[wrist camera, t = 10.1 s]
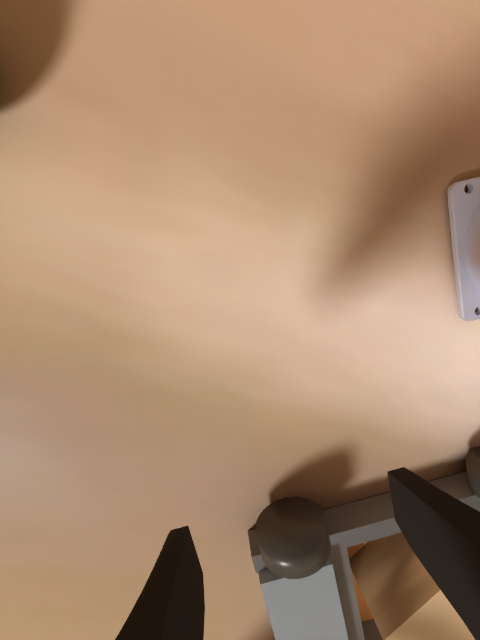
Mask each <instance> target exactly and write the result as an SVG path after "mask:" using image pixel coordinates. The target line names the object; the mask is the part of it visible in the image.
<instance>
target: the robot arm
mask: <svg viewBox="0 0 480 640" xmlns="http://www.w3.org/2000/svg"><path fill="white" fill-rule="evenodd" d="M465 186H467V187H468V192H467V193H465V191H464V188H465ZM447 196H448V207H449V217H450V228H451V238H452V249H453V259H454V270H455V280H456V291H457V301H458V312H459V317H460V318H461V319H463V320H465V321H473V320H477V319H480V177H476V178H472V179H467V180H463V181H459V182H455V183H453V184H451V185H450V186H449V188H448V191H447ZM477 307H478V311H477V313H476V314H475V309H476V308H477ZM388 478H389V485H390V491H391V497H392V504H393V510H394V517H395V521H396V523H397V524H398V526H399V528H400V530H401V532H402V533H403V535H404V537H405V539H406V540H407V542H408V544H409V546H410V547H411V549H412V551H413V552H414V553H415V555H416V556H417V558H418V559H419V560H420V562H421V563H422V565H423V566H424V568H425V569H426V570H427V572H428V573H429V575H430V576H431V577H432V579H433V580H434V581H435V583H436V584H437V586H438V587H439V588H440V590H441V591H442V593H443V594H444V595H445V597H446V598H447V600H448V601H449V602H450V604H451V605H452V606H453V608H454V609H455V611H456V612H457V613H458V615H459V616H460V618H461V619H462V620H463V622H464V623H465V625H466V626H467V628H468V629H469V631H470V632H471V634H472V635H473V637H474V639H475V640H480V511H478V510H476V509H474V508H472V507H470V506H468V505H467V504H465V503H463V502H461V501H459V500H458V499H456V498H454V497H452V496H451V495H449V494H447V493H446V492H444V491H442V490H440V489H439V488H437V487H436V486H434V485H432V484H431V483H429V482H427V481H426V480H424V479H422V478H421V477H419V476H418V475H416V474H414V473H413V472H411V471H409V470H408V469H406V468H404V467H403V468H399V469H396V470H392V471H388ZM204 612H205V605H204V584H203V572H202V569H201V566H200V562H199V559H198V556H197V553H196V550H195V546H194V543H193V540H192V537H191V534H190V530H189V527H188V526H185V527H181V528H178V529H174V530H171V531H170V532H169V534H168V536H167V539H166V541H165V543H164V545H163V548H162V550H161V552H160V555H159V557H158V559H157V561H156V563H155V566H154V568H153V570H152V572H151V574H150V576H149V578H148V580H147V582H146V584H145V586H144V588H143V590H142V592H141V594H140V596H139V598H138V600H137V602H136V604H135V606H134V607H133V609H132V611H131V613H130V615H129V617H128V618H127V620H126V622H125V624H124V626H123V627H122V629H121V631H120V632H119V634H118V636H117V637H116V639H115V640H203V634H204Z"/></svg>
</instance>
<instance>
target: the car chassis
mask: <svg viewBox="0 0 480 640" xmlns="http://www.w3.org/2000/svg"><path fill="white" fill-rule="evenodd" d="M466 469H467V471H465V472H461V473H458V474H454V475H450V476H447V477H443V478H439V479H436V480H432V481H428V482H429V483H431V484H432V485H434V486H436V487H437V488H439V489H440V490H442V491H444V492H446V493H447V494H449V495H451V496H452V497H454V498H456V499H458V500H459V501H461V502H463V503H465V504H467V505H468V506H470V507H472V508H474V509H476V510H478V511H480V446H477V447H475V448H473V449H471V450H470V451H469V452H468V453H467V455H466ZM397 533H401V530H400V528H399V526H398V524H397V523H396V521H395V517H394V510H393V504H392V497H391V492H388V493H385V494H381V495H377V496H374V497H370V498H366V499H363V500H359V501H355V502H352V503H348V504H344V505H341V506H337V507H333V508H330V509H326V510H321V508H320V507H319V506H318V505H316V504H315V503H314V502H312V501H310V500H307V499H304V498H297V497H291V498H285V499H281V500H278V501H276V502H274V503H272V504H270V505H269V506H267V507H266V508H265V509H264V510H263V511H262V512H261V514H260V515H259V517H258V519H257V522H256V527H255V529H253V530H249V531H248V535H249V542H250V549H251V556H252V560H253V564H254V567H255V571H256V573H257V572H258V573H259V579H260V585H261V589H262V592H263V596H264V600H265V604H266V607H267V611H268V615H269V618H270V622H271V626H272V629H273V633H274V637H275V640H383V638H382V636H381V634H380V632H379V630H378V627H377V625H376V623H375V621H374V618H373V616H372V614H371V612H370V610H369V607H368V605H367V603H366V601H365V598H364V596H363V594H362V592H361V589H360V587H359V585H358V583H357V581H356V578H355V576H354V574H353V572H352V569H351V567H350V562H349V559H350V558H351V557H352V556H353V555H354V554H355V553H356V552H357V551H358V550H359V549H361V548H362V547H363V546H364V545H365V544H366V543H367V542H369V541H372V540H376V539H379V538H383V537H387V536H390V535H394V534H397Z"/></svg>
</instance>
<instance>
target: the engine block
mask: <svg viewBox="0 0 480 640" xmlns="http://www.w3.org/2000/svg"><path fill="white" fill-rule="evenodd" d="M349 562H350V567H351V569H352V572H353V574H354V576H355V578H356V581H357V583H358V585H359V587H360V589H361V592H362V594H363V596H364V598H365V601H366V603H367V605H368V607H369V610H370V612H371V614H372V616H373V618H374V621H375V623H376V625H377V627H378V630H379V632H380V634H381V636H382V638H383V640H475V639H474V637H473V635H472V634H471V632H470V631H469V629H468V628H467V626H466V625H465V623H464V622H463V620H462V619H461V618H460V616H459V615H458V613H457V612H456V611H455V609H454V608H453V606H452V605H451V604H450V602H449V601H448V600H447V598H446V597H445V595H444V594H443V593H442V591H441V590H440V588H439V587H438V586H437V584H436V583H435V581H434V580H433V579H432V577H431V576H430V575H429V573H428V572H427V570H426V569H425V568H424V566H423V565H422V563H421V562H420V560H419V559H418V558H417V556H416V555H415V553H414V552H413V551H412V549H411V547H410V546H409V544H408V542H407V540H406V539H405V537H404V535H403V533H402V532H401V533H397V534H394V535H390V536H387V537H383V538H379V539H376V540H372V541H369V542H367V543H366V544H365V545H364V546H363V547H362V548H361V549H359V550H358V551H357V552H356V553H355V554H354V555H353V556H352V557H351V558H350V559H349Z"/></svg>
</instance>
